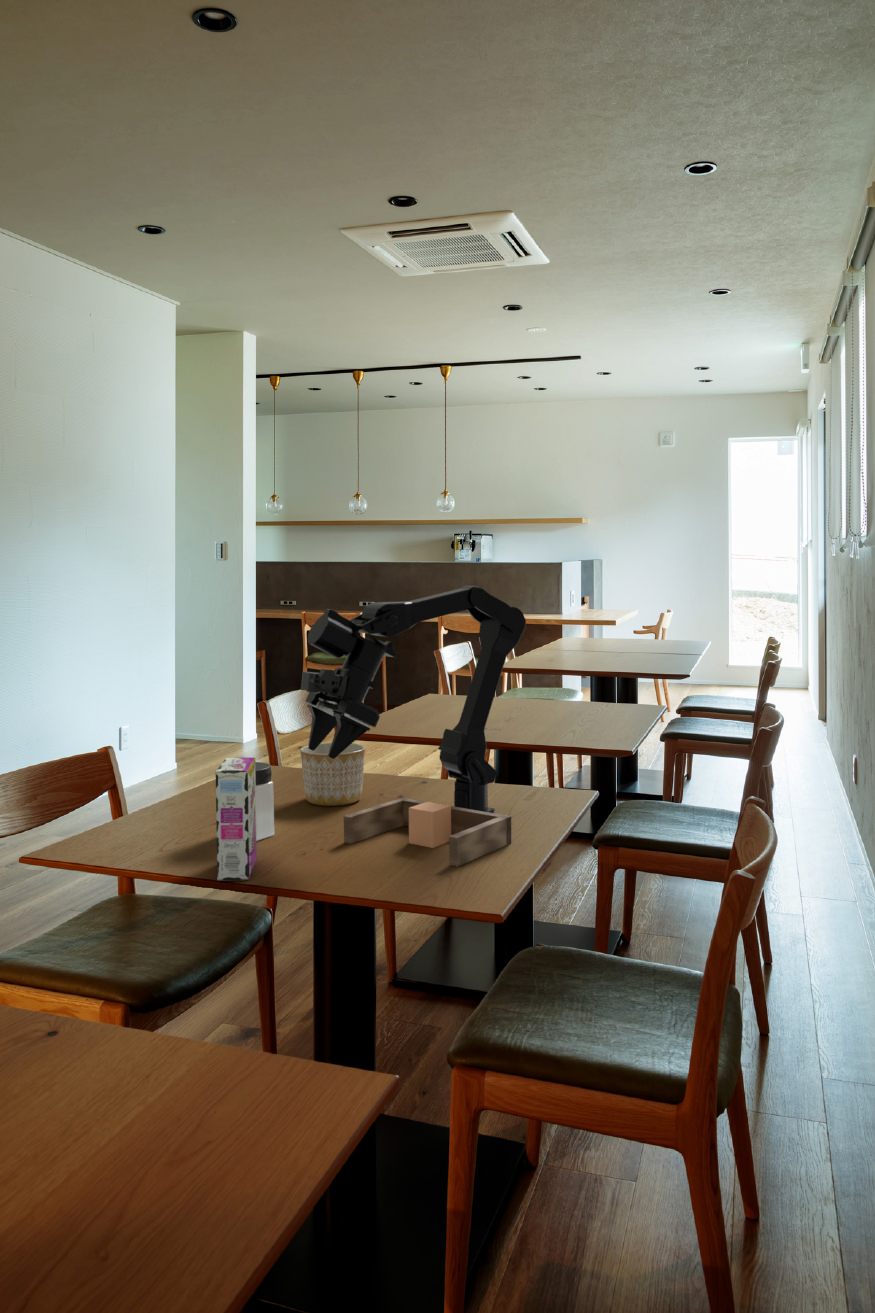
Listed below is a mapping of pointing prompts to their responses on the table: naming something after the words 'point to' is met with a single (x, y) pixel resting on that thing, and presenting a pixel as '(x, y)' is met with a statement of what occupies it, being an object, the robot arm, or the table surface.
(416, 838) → the terracotta block
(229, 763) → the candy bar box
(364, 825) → the walnut pen
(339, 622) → the robot arm
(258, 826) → the jar
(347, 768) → the planter
